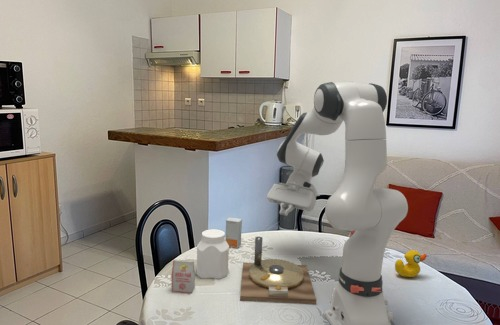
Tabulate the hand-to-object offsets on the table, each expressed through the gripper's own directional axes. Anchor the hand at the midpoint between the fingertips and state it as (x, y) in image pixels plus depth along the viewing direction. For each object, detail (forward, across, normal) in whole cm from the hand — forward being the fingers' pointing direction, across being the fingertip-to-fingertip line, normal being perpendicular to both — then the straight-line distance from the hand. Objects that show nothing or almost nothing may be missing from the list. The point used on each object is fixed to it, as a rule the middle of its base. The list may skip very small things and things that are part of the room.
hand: (283, 214), depth 142 cm
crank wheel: (+23, +8, +1) cm, 25 cm away
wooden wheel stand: (+26, +9, +1) cm, 27 cm away
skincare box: (+15, -23, +12) cm, 30 cm away
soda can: (-8, +21, +34) cm, 41 cm away
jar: (+32, -13, -5) cm, 35 cm away
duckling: (0, +44, +27) cm, 52 cm away
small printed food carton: (+42, -12, -16) cm, 47 cm away
